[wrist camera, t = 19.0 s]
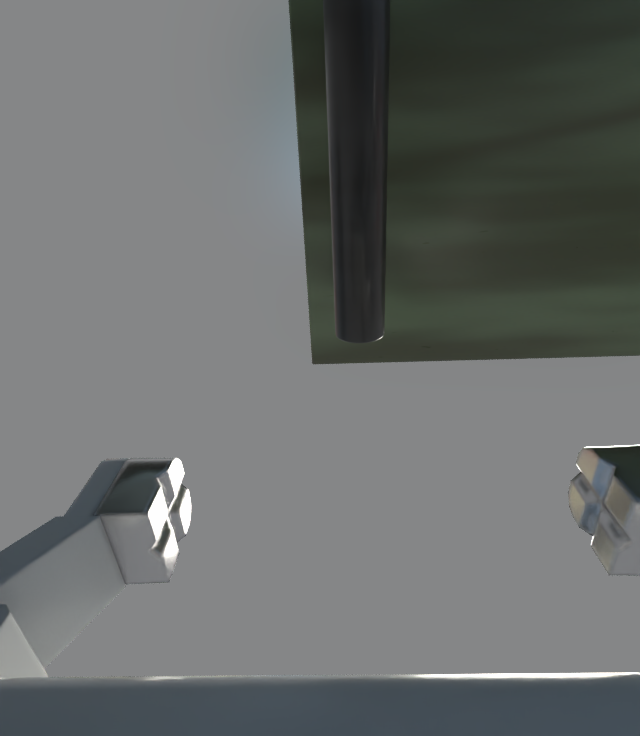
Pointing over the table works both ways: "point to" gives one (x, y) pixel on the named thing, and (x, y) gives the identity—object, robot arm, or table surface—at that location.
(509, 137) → the compartment door
